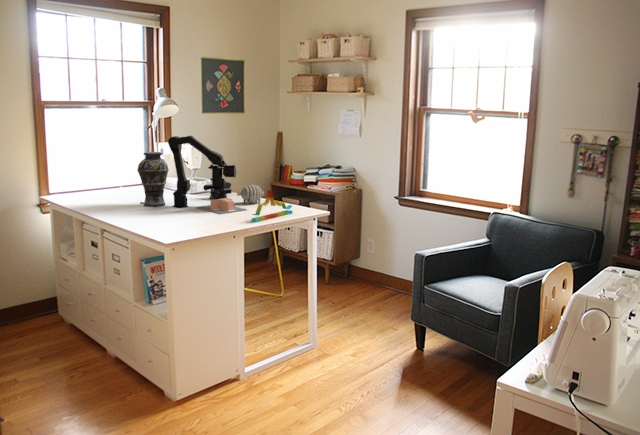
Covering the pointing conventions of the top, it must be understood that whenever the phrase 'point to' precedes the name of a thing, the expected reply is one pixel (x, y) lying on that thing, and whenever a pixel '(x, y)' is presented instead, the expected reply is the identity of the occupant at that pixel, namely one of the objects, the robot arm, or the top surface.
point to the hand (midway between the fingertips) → (217, 204)
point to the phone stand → (220, 198)
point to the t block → (222, 204)
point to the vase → (153, 178)
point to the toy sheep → (251, 194)
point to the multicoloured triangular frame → (273, 203)
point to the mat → (220, 211)
